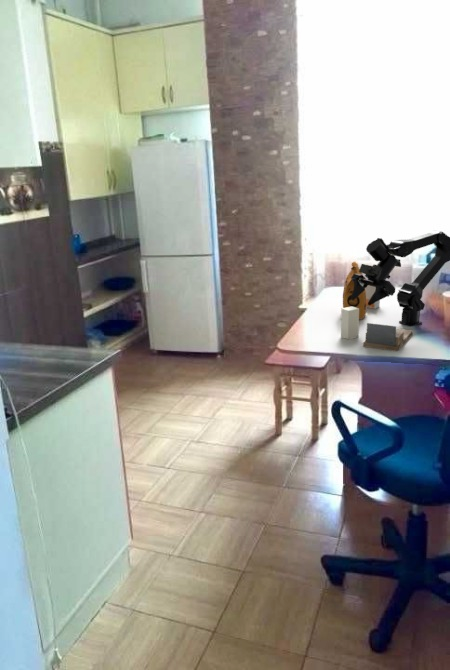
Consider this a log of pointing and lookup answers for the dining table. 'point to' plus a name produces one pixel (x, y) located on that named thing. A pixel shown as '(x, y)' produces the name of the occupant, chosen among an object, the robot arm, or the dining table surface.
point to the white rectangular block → (349, 322)
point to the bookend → (381, 334)
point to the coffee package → (348, 290)
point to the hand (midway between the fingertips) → (360, 302)
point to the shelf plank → (395, 348)
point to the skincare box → (369, 293)
